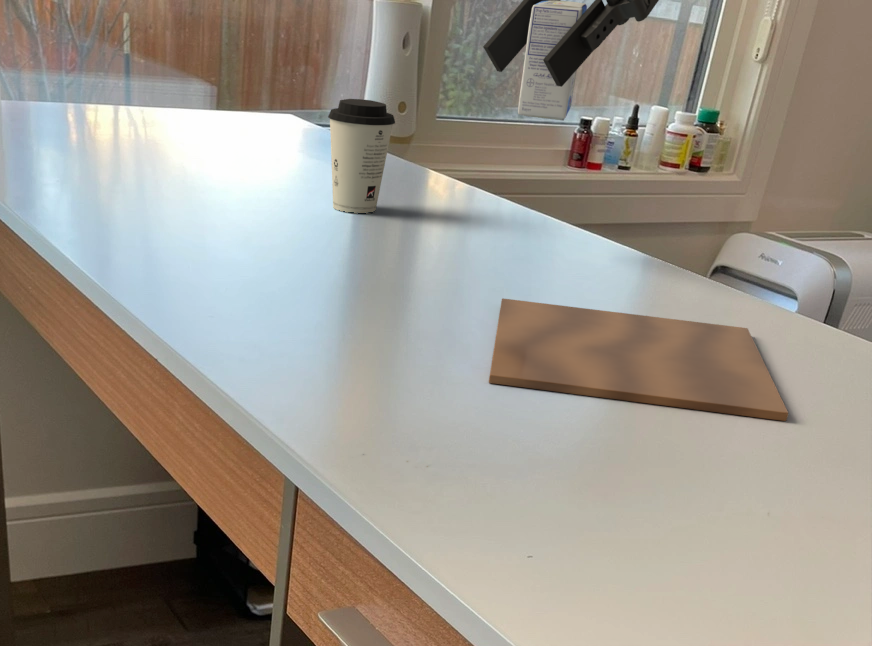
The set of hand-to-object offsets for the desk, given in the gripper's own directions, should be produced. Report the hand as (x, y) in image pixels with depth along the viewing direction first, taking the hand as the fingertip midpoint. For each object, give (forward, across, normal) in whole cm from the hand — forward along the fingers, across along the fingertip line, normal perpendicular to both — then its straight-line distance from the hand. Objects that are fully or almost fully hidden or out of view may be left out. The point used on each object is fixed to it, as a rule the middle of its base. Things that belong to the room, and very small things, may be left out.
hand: (521, 66), depth 99 cm
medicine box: (0, 0, -5) cm, 5 cm away
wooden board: (+17, -31, -5) cm, 36 cm away
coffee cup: (+15, +18, -7) cm, 25 cm away
